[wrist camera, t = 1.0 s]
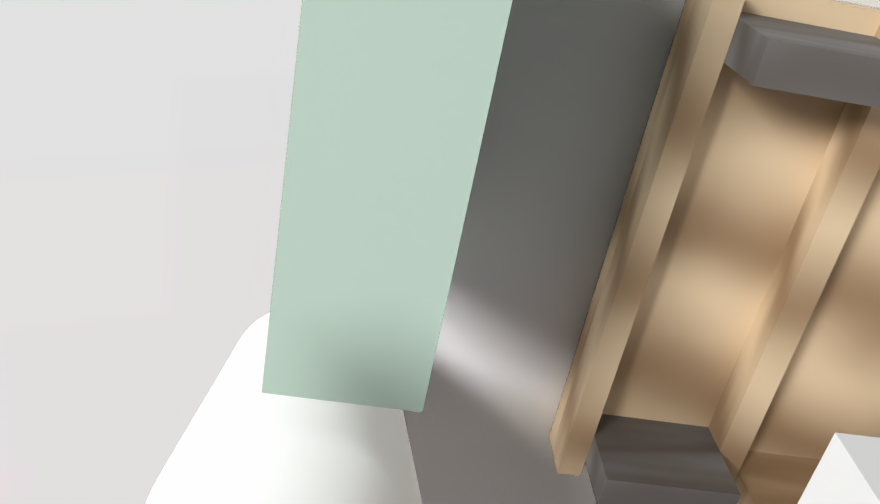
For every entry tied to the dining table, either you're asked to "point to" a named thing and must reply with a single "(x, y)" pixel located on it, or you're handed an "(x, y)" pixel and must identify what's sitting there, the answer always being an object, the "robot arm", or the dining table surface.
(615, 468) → the brown shallow square tray
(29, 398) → the dining table surface
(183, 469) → the cup
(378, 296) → the mint green panel
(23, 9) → the dining table surface
